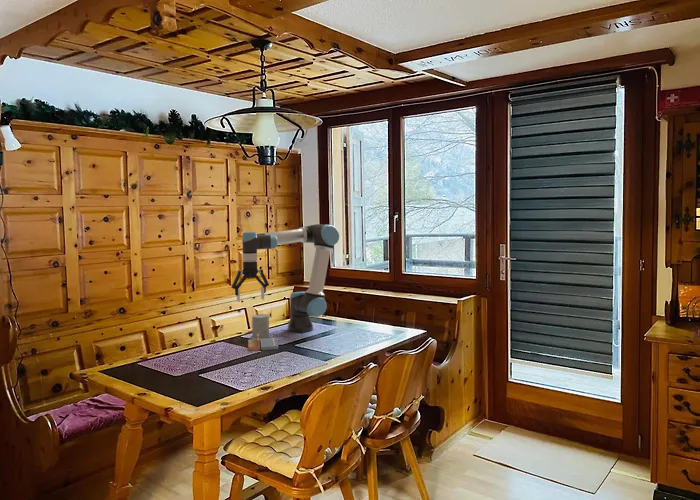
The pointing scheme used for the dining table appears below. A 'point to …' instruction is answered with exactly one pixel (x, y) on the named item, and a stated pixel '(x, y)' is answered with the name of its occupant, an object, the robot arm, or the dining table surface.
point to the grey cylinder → (260, 326)
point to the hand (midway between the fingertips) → (250, 300)
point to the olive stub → (253, 339)
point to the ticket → (269, 343)
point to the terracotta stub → (254, 345)
